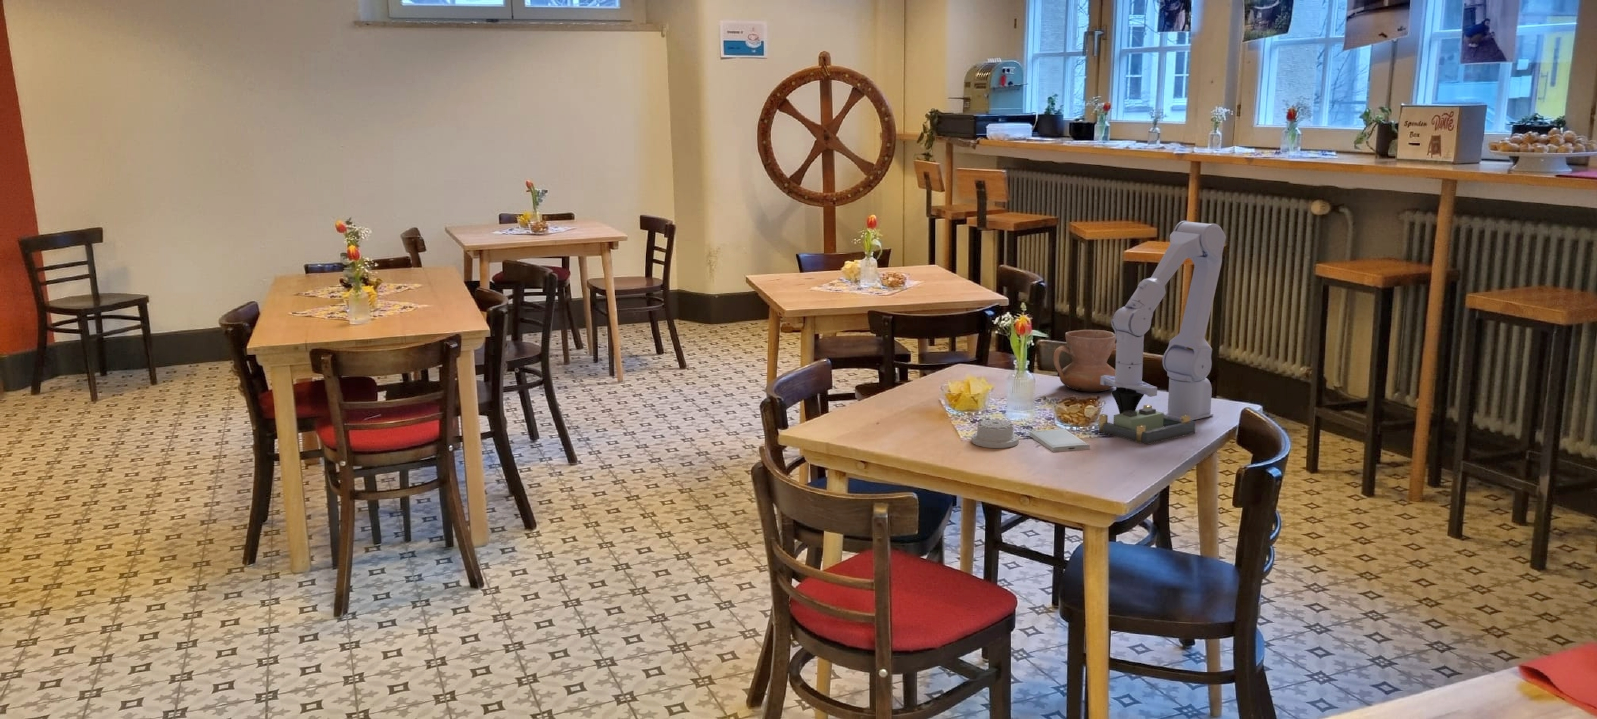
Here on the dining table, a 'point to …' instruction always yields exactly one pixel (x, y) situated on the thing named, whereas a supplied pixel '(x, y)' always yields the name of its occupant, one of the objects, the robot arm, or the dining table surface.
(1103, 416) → the tray
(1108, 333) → the ceramic jug
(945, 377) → the dining table surface
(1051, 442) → the hard drive
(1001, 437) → the gray cake
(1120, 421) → the green block
